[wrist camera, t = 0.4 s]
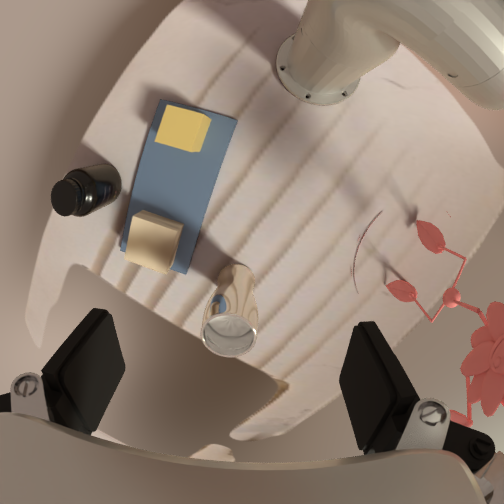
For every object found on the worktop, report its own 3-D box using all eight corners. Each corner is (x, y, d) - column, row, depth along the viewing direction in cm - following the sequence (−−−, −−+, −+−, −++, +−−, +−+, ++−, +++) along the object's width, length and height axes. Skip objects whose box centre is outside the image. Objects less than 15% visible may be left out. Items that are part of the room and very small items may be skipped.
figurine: (455, 204, 40) (610, 284, 7) (390, 322, 49) (471, 473, 16) (394, 160, 39) (595, 210, 6) (324, 297, 47) (387, 491, 14)
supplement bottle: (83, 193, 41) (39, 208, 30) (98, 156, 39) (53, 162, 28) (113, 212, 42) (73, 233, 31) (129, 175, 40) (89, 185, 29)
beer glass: (212, 295, 47) (196, 352, 33) (218, 256, 45) (201, 306, 30) (253, 302, 47) (252, 362, 33) (261, 265, 45) (264, 317, 31)
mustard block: (179, 110, 36) (167, 104, 30) (211, 119, 37) (204, 114, 31) (168, 142, 38) (154, 141, 32) (200, 151, 38) (190, 152, 33)
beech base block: (143, 209, 41) (132, 215, 37) (184, 223, 42) (177, 231, 38) (134, 250, 43) (124, 259, 40) (173, 264, 44) (165, 274, 40)
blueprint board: (162, 100, 36) (160, 99, 35) (237, 120, 37) (237, 120, 37) (122, 248, 44) (120, 250, 44) (187, 272, 46) (186, 274, 45)
